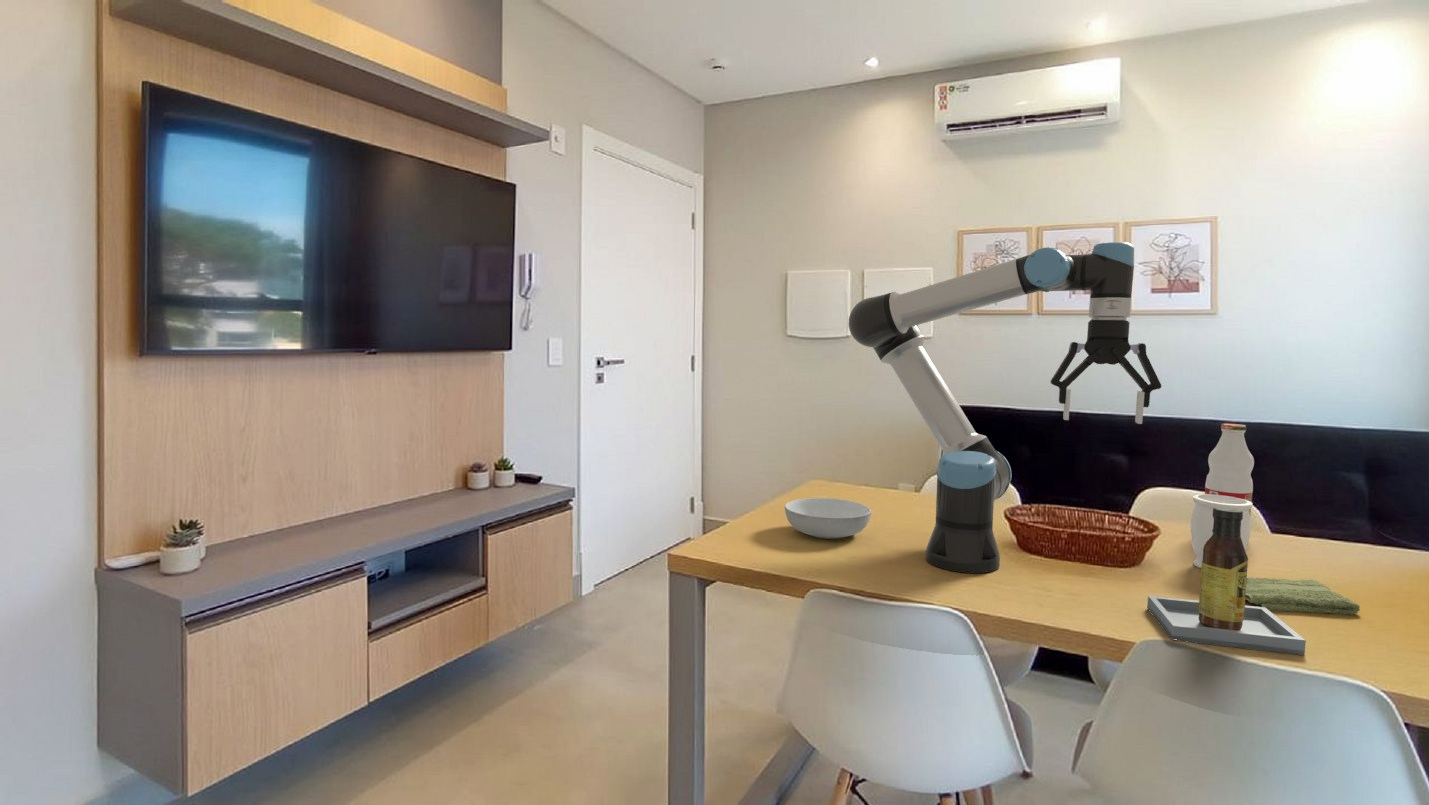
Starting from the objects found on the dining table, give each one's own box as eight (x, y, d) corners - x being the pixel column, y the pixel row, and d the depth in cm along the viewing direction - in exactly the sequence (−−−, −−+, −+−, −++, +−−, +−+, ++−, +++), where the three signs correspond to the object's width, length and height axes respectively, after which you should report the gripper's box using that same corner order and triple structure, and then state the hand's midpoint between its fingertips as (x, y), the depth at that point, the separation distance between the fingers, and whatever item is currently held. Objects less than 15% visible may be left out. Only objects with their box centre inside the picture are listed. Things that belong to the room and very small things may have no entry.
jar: (1257, 578, 146) (1263, 506, 145) (1201, 574, 148) (1206, 503, 147) (1231, 562, 157) (1236, 494, 155) (1179, 558, 159) (1183, 492, 157)
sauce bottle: (1244, 636, 116) (1254, 516, 114) (1198, 628, 119) (1207, 511, 117) (1240, 623, 121) (1250, 508, 119) (1196, 615, 125) (1204, 503, 123)
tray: (1172, 640, 116) (1173, 625, 116) (1147, 608, 129) (1148, 595, 129) (1304, 655, 111) (1305, 640, 111) (1264, 620, 124) (1265, 607, 124)
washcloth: (1217, 587, 142) (1218, 571, 142) (1318, 593, 139) (1319, 577, 139) (1253, 612, 130) (1254, 594, 129) (1365, 620, 126) (1367, 602, 126)
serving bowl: (878, 547, 166) (879, 518, 165) (787, 546, 166) (788, 516, 165) (861, 523, 186) (862, 497, 186) (781, 522, 187) (781, 496, 186)
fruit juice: (1258, 542, 172) (1268, 426, 170) (1224, 543, 171) (1233, 427, 168) (1224, 531, 182) (1233, 422, 179) (1192, 532, 180) (1200, 422, 177)
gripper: (1044, 318, 148) (1038, 419, 150) (1184, 319, 140) (1175, 426, 142) (1041, 319, 155) (1035, 415, 157) (1173, 320, 147) (1165, 422, 149)
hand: (1101, 421), depth 150 cm, fingers open, 13 cm apart
